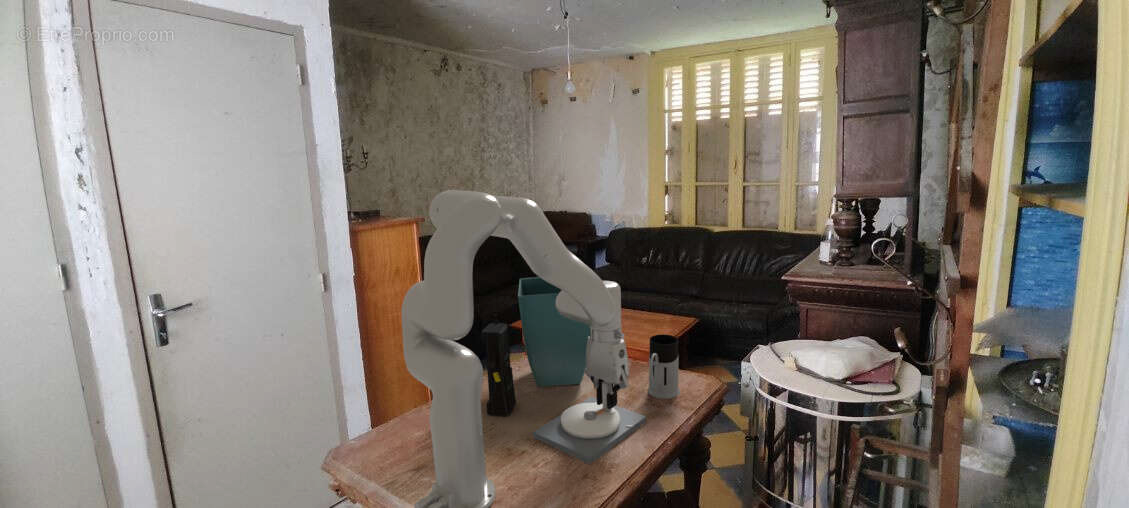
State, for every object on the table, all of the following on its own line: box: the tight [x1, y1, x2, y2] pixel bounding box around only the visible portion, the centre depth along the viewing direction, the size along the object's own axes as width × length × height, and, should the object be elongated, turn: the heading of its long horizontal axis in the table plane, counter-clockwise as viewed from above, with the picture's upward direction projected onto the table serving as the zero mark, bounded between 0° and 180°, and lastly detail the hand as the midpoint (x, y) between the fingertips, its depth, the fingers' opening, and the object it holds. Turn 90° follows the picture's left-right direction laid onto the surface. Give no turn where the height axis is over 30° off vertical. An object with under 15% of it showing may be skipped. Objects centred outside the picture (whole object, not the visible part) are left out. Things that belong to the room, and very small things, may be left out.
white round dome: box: [561, 381, 620, 439], centre depth 124 cm, size 14×14×8 cm
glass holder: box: [647, 333, 681, 400], centre depth 139 cm, size 9×14×15 cm, turn 151°
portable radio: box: [480, 314, 517, 417], centre depth 133 cm, size 8×6×25 cm
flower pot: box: [517, 276, 590, 387], centre depth 152 cm, size 20×20×28 cm
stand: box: [532, 396, 647, 465], centre depth 125 cm, size 22×17×2 cm
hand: (606, 404), depth 128 cm, fingers open, 2 cm apart
